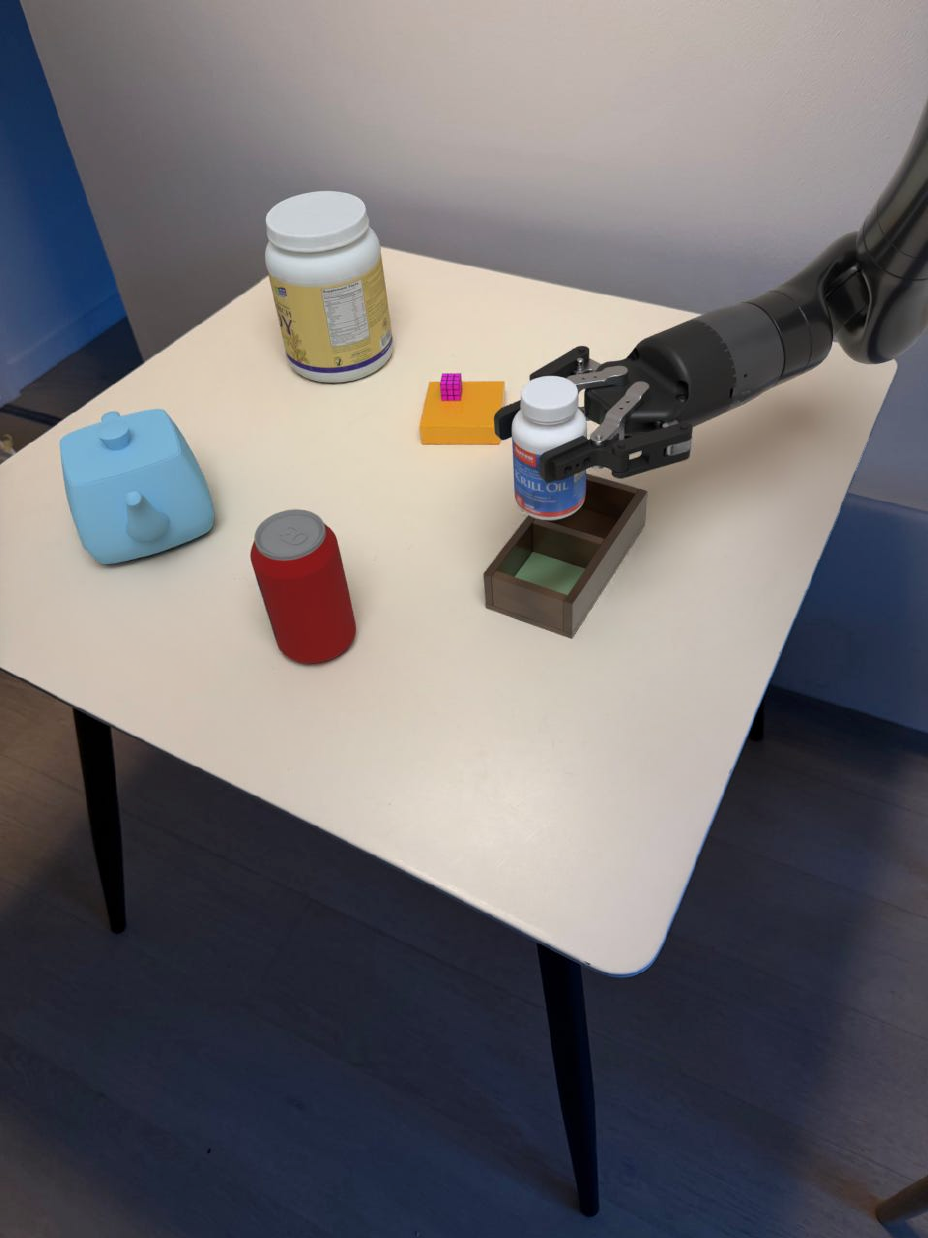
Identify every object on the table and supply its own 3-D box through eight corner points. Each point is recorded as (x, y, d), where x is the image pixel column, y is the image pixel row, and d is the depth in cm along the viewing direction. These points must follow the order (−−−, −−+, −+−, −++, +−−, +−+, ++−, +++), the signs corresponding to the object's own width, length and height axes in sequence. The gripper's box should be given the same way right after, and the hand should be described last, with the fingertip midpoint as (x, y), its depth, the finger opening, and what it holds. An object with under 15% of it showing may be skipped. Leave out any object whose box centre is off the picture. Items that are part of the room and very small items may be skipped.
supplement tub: (275, 347, 115) (241, 204, 103) (372, 318, 118) (350, 176, 106) (308, 400, 108) (276, 252, 95) (411, 367, 111) (392, 219, 98)
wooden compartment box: (645, 525, 90) (647, 490, 87) (572, 639, 81) (572, 604, 78) (564, 501, 93) (564, 466, 90) (485, 608, 84) (482, 573, 81)
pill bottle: (504, 515, 75) (497, 407, 68) (528, 472, 78) (523, 364, 71) (574, 528, 73) (573, 419, 66) (595, 483, 76) (596, 375, 69)
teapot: (103, 618, 87) (55, 519, 78) (75, 501, 98) (31, 404, 90) (240, 573, 89) (207, 472, 81) (197, 464, 101) (165, 366, 93)
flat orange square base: (505, 398, 105) (503, 363, 102) (500, 444, 100) (498, 409, 97) (431, 399, 106) (427, 364, 103) (421, 444, 101) (417, 409, 98)
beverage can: (314, 599, 86) (287, 492, 78) (374, 629, 83) (352, 522, 75) (261, 648, 83) (226, 542, 74) (321, 682, 80) (292, 575, 71)
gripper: (650, 284, 77) (463, 358, 72) (779, 366, 68) (576, 456, 63) (645, 367, 83) (471, 441, 78) (764, 453, 74) (576, 543, 69)
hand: (519, 448), depth 70 cm, fingers closed on pill bottle, 5 cm apart
